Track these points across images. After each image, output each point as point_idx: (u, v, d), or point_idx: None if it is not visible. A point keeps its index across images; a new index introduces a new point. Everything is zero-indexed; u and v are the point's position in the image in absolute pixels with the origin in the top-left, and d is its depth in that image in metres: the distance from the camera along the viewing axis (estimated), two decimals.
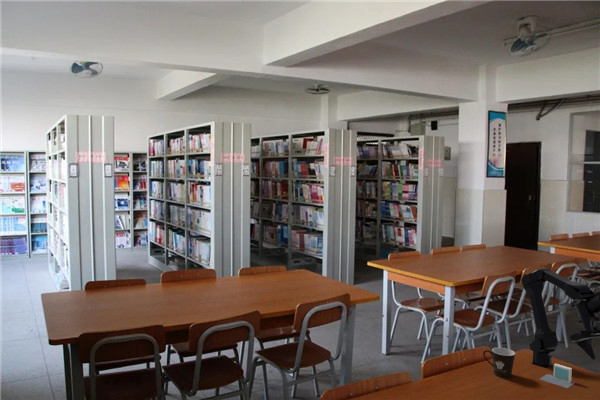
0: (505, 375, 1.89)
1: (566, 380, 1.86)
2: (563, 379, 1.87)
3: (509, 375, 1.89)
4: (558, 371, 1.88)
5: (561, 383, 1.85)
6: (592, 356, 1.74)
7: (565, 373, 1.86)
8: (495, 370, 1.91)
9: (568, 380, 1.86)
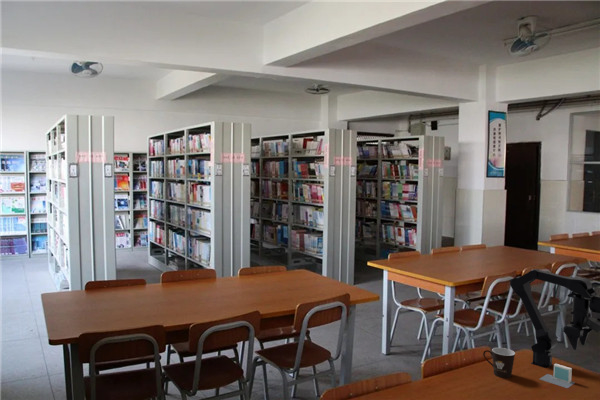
0: (505, 375, 1.89)
1: (566, 380, 1.86)
2: (563, 379, 1.87)
3: (509, 375, 1.89)
4: (558, 371, 1.88)
5: (561, 383, 1.85)
6: (574, 347, 1.90)
7: (565, 373, 1.86)
8: (495, 370, 1.91)
9: (568, 380, 1.86)
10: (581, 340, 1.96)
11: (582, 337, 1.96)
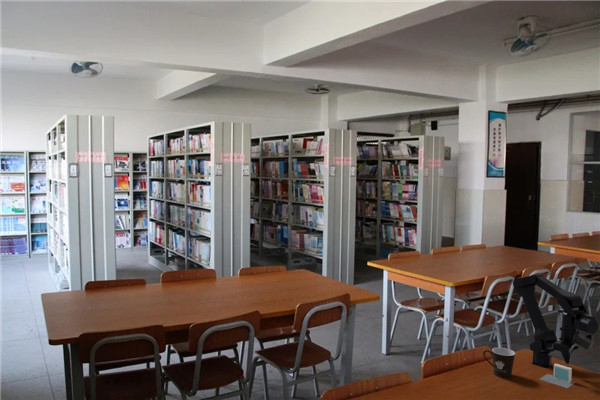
0: (505, 375, 1.89)
1: (566, 380, 1.86)
2: (563, 379, 1.87)
3: (509, 375, 1.89)
4: (558, 371, 1.88)
5: (561, 383, 1.85)
6: (567, 361, 1.91)
7: (565, 373, 1.86)
8: (495, 370, 1.91)
9: (568, 380, 1.86)
10: None
11: None
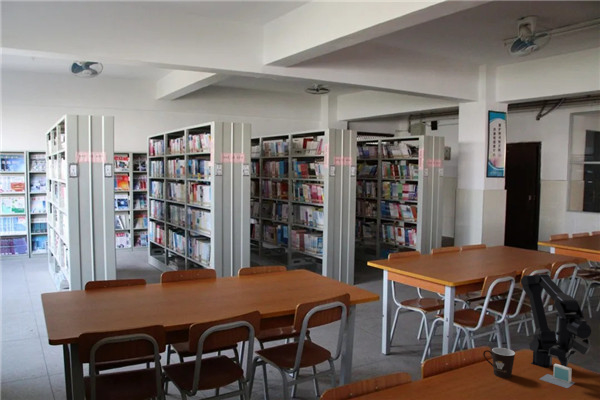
0: (505, 375, 1.89)
1: (566, 380, 1.86)
2: (563, 379, 1.87)
3: (509, 375, 1.89)
4: (558, 371, 1.88)
5: (561, 383, 1.85)
6: None
7: (565, 373, 1.86)
8: (495, 370, 1.91)
9: (568, 380, 1.86)
10: None
11: None
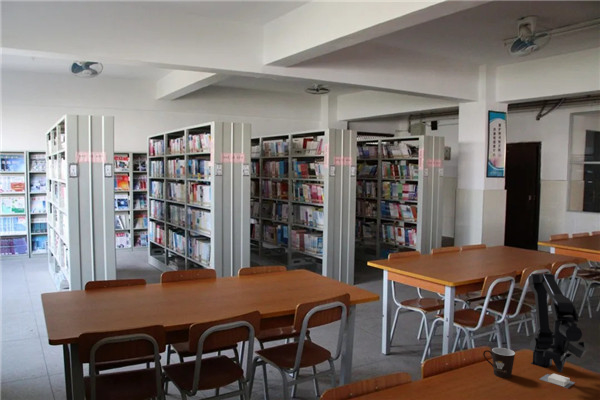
0: (505, 375, 1.89)
1: None
2: None
3: (509, 375, 1.89)
4: None
5: None
6: (559, 369, 1.86)
7: None
8: (495, 370, 1.91)
9: None
10: None
11: None
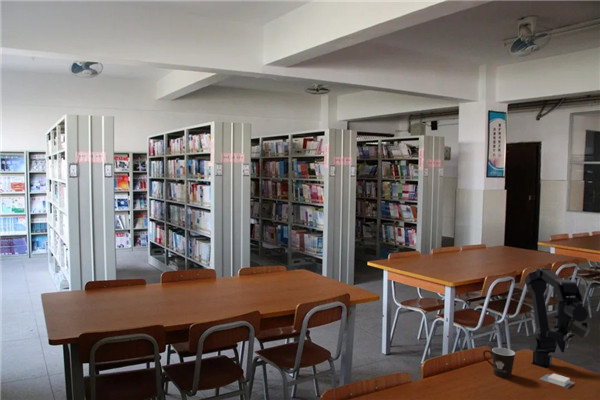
0: (505, 375, 1.89)
1: None
2: None
3: (509, 375, 1.89)
4: None
5: None
6: (562, 349, 1.87)
7: None
8: (495, 370, 1.91)
9: None
10: None
11: None
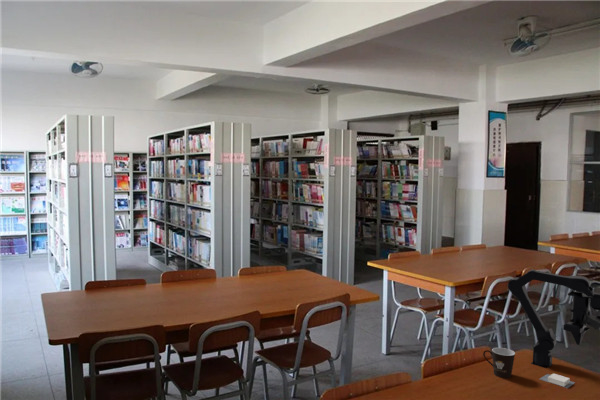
0: (505, 375, 1.89)
1: None
2: None
3: (509, 375, 1.89)
4: None
5: None
6: (578, 342, 1.96)
7: None
8: (495, 370, 1.91)
9: None
10: None
11: None
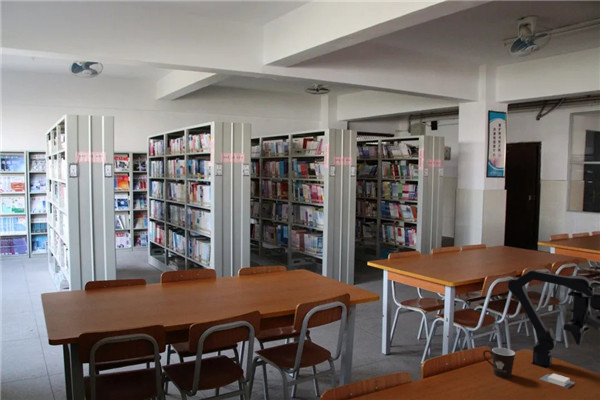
0: (505, 375, 1.89)
1: None
2: None
3: (509, 375, 1.89)
4: None
5: None
6: (578, 342, 1.96)
7: None
8: (495, 370, 1.91)
9: None
10: None
11: None
